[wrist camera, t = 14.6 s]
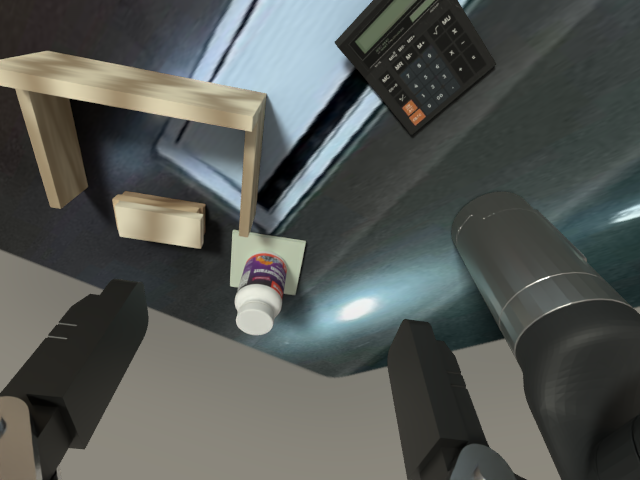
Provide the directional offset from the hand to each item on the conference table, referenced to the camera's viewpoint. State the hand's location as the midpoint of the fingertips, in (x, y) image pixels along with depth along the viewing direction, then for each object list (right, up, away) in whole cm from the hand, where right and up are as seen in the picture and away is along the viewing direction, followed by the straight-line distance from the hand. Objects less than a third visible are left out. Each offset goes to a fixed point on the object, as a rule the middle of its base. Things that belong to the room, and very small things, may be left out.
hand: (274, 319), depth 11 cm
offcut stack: (-17, +6, +31) cm, 35 cm away
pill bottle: (-6, -1, +34) cm, 35 cm away
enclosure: (-15, +13, +26) cm, 32 cm away
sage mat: (-6, -1, +35) cm, 35 cm away
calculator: (+10, +20, +21) cm, 31 cm away
